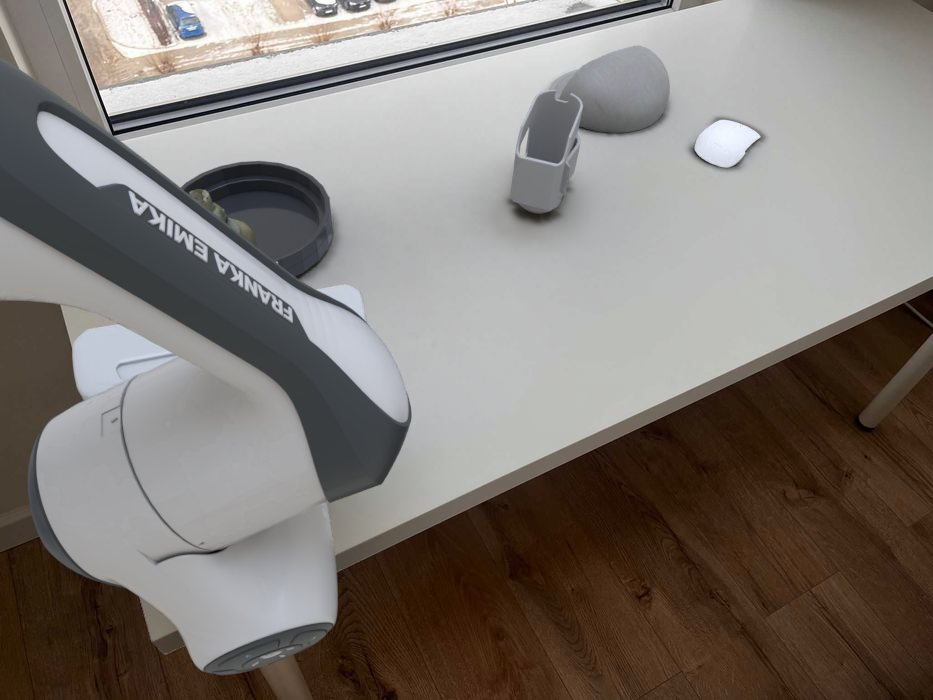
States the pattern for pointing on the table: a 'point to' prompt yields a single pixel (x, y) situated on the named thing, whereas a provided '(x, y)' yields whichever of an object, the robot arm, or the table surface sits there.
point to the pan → (274, 208)
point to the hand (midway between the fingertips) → (220, 276)
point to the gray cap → (618, 90)
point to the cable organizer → (546, 152)
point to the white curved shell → (725, 143)
